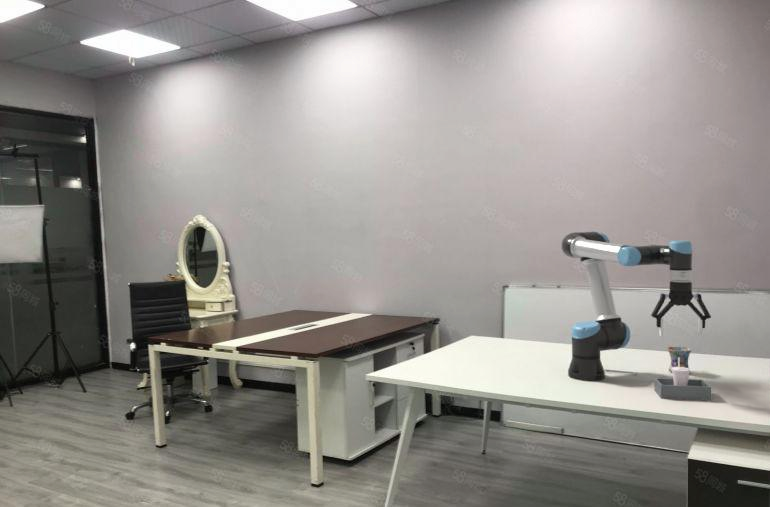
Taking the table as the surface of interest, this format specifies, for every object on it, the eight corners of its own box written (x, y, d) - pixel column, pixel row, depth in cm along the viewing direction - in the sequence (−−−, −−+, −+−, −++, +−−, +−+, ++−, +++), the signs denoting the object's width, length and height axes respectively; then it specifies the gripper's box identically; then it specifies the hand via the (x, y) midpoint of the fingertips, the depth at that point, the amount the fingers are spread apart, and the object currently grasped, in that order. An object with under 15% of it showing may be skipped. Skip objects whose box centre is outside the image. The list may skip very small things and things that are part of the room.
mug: (689, 376, 239) (689, 351, 239) (665, 373, 245) (665, 349, 244) (694, 370, 248) (694, 346, 248) (671, 367, 254) (671, 344, 254)
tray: (660, 398, 210) (660, 385, 210) (654, 390, 220) (654, 378, 220) (711, 400, 206) (711, 386, 206) (702, 392, 216) (702, 379, 216)
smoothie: (670, 390, 217) (670, 355, 217) (688, 391, 215) (688, 356, 215) (672, 395, 211) (672, 358, 211) (691, 396, 209) (691, 359, 209)
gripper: (647, 282, 211) (647, 337, 212) (720, 282, 205) (720, 338, 206) (643, 280, 218) (643, 333, 219) (713, 280, 213) (713, 335, 214)
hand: (680, 336), depth 213 cm, fingers open, 13 cm apart
